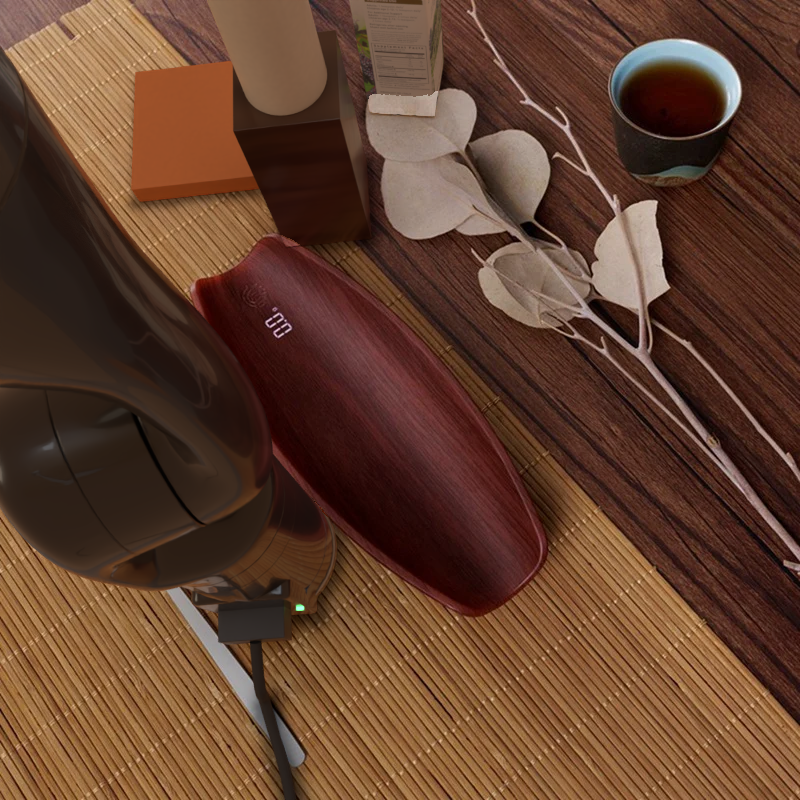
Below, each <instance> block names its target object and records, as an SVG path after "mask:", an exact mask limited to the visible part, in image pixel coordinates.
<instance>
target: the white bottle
mask: <svg viewBox="0 0 800 800" xmlns="http://www.w3.org/2000/svg"><path fill="white" fill-rule="evenodd" d="M206 2H207V5H208V8H209V10H210V12H211V14H212V17H213V20H214V22H215V25H216V27H217V29H218V32H219V34H220V37H221V40H222V42H223V44H224V47H225V49H226V52H227V54H228V57H229V59H230V61H231V62H232V64H233V66H234V69H235V71H236V74H237V76H238V79H239V81H240V84H241V86H242V89H243V91H244V93H245V96H246V98H247V99H248V101H249V102H250V103H251V104H252V105H253V106H254V107H255V108H256V109H258V110H260V111H262V112H264V113H267V114H270V115H278V116H283V115H291V114H295V113H298V112H300V111H303V110H304V109H306V108H308V107H309V106H311V105H312V104H313V103H314V102H315V101H316V100H317V99H318V98H319V97H320V95H321V94H322V92H323V90H324V88H325V85H326V81H327V69H326V65H325V61H324V58H323V54H322V50H321V46H320V42H319V39H318V35H317V32H318V31H317V27H316V24H315V21H314V20H315V19H314V16H313V12H312V8H311V5H310V0H206Z"/></svg>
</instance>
